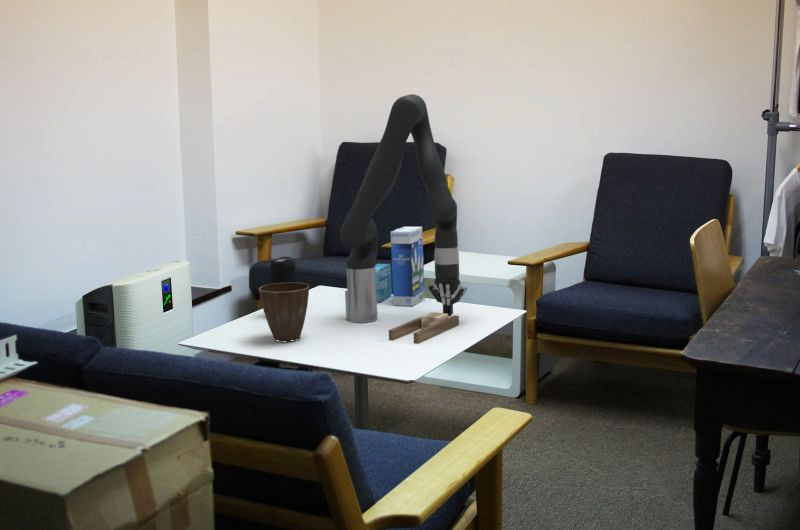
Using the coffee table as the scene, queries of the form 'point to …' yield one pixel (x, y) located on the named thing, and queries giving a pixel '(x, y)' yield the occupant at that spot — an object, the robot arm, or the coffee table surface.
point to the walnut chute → (425, 332)
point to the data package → (383, 282)
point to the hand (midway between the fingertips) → (448, 316)
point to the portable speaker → (282, 270)
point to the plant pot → (285, 308)
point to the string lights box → (407, 266)
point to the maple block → (432, 319)
